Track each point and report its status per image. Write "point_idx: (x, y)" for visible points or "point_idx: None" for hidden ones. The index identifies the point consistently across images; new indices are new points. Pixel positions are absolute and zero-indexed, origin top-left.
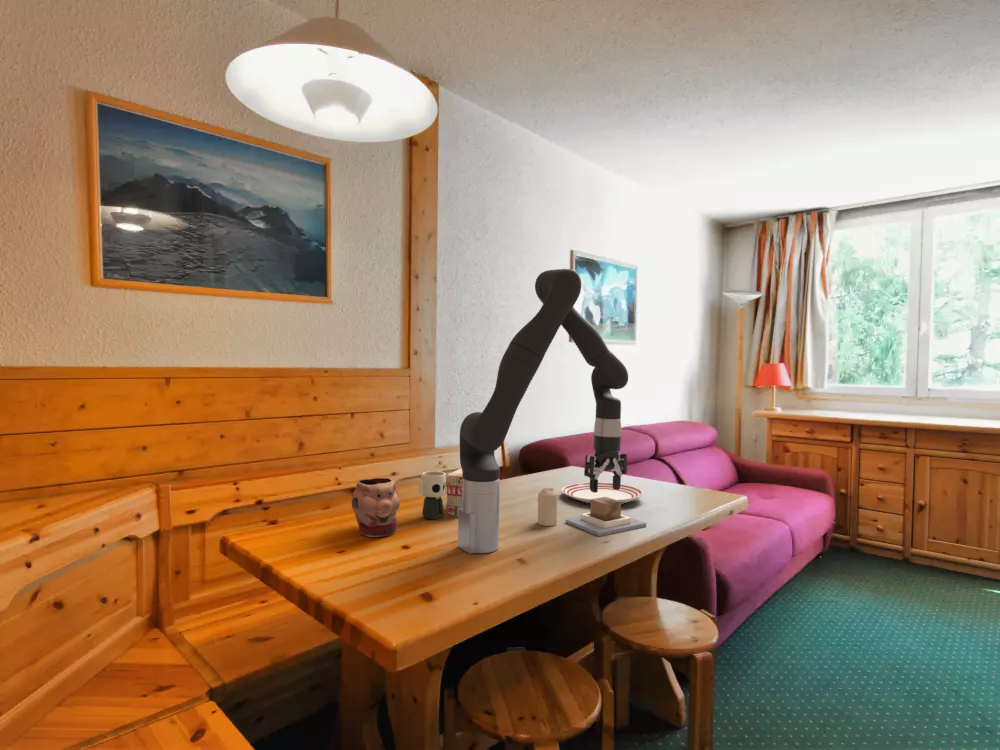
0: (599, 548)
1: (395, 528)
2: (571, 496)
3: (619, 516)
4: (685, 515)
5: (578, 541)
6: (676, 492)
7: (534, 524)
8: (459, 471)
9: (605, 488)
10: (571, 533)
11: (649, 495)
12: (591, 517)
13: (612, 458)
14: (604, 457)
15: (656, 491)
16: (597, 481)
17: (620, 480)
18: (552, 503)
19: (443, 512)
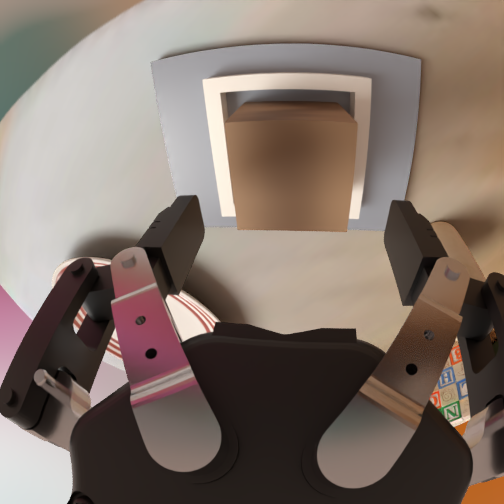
0: (478, 3)
1: None
2: None
3: (247, 106)
4: (15, 138)
5: (491, 79)
6: (8, 270)
7: None
8: (466, 420)
9: (114, 341)
10: (460, 140)
11: (46, 282)
12: (362, 164)
13: (207, 469)
14: (374, 497)
15: (33, 290)
16: (421, 246)
17: (144, 235)
18: (475, 270)
19: (498, 345)
